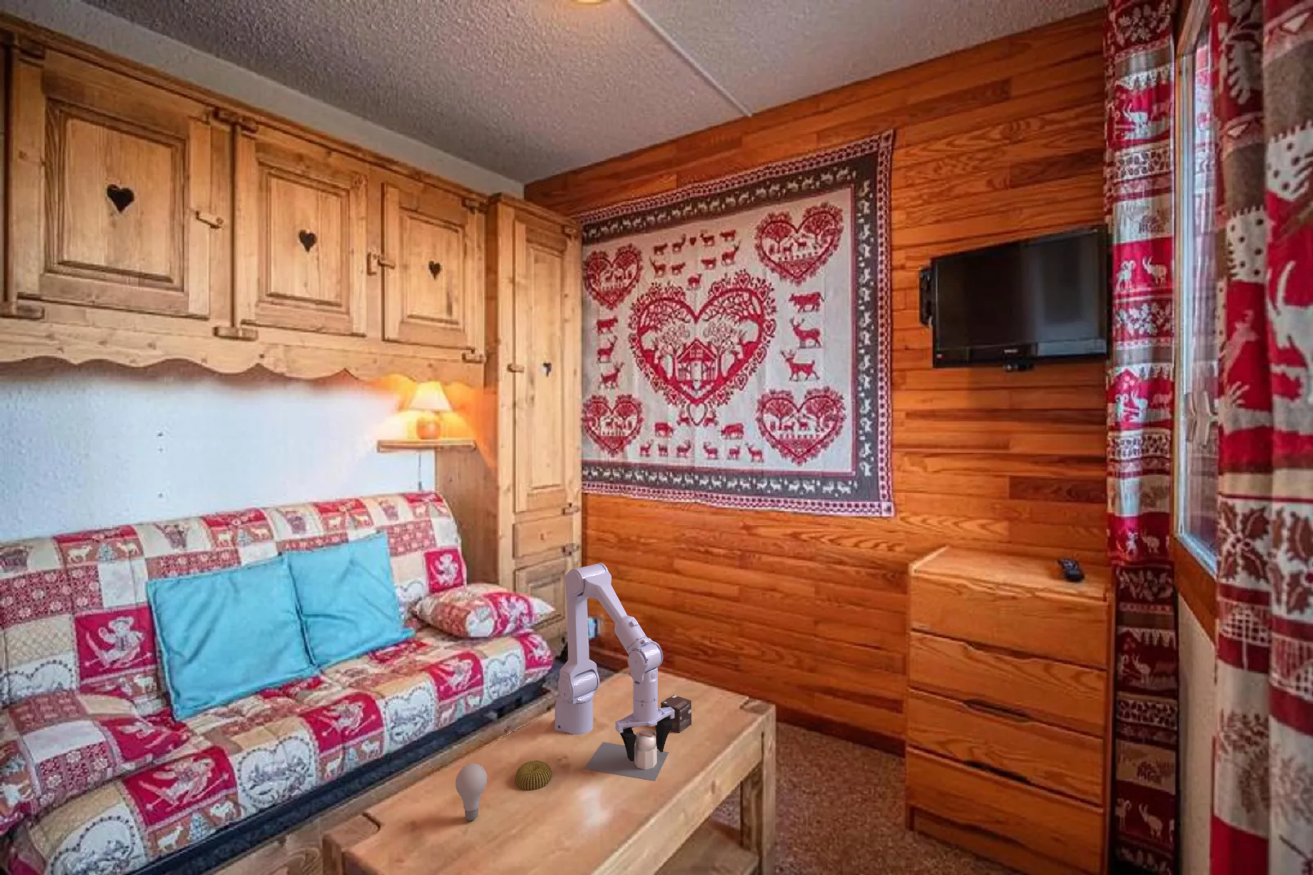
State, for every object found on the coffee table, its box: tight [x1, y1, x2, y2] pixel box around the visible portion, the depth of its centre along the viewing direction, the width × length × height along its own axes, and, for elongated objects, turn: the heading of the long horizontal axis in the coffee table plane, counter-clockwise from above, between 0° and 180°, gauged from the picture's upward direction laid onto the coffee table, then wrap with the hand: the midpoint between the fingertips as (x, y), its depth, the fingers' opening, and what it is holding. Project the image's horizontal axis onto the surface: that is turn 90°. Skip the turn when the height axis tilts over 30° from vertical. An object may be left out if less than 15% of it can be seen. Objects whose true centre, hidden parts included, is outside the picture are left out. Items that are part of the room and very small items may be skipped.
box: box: [660, 694, 693, 734], centre depth 156 cm, size 6×6×7 cm
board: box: [583, 741, 670, 782], centre depth 140 cm, size 17×12×1 cm
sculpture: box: [514, 759, 553, 791], centre depth 133 cm, size 8×4×8 cm
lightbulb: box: [454, 763, 488, 821], centre depth 121 cm, size 6×6×11 cm
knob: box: [634, 729, 658, 770], centre depth 139 cm, size 5×5×7 cm
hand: (645, 754), depth 139 cm, fingers open, 7 cm apart
